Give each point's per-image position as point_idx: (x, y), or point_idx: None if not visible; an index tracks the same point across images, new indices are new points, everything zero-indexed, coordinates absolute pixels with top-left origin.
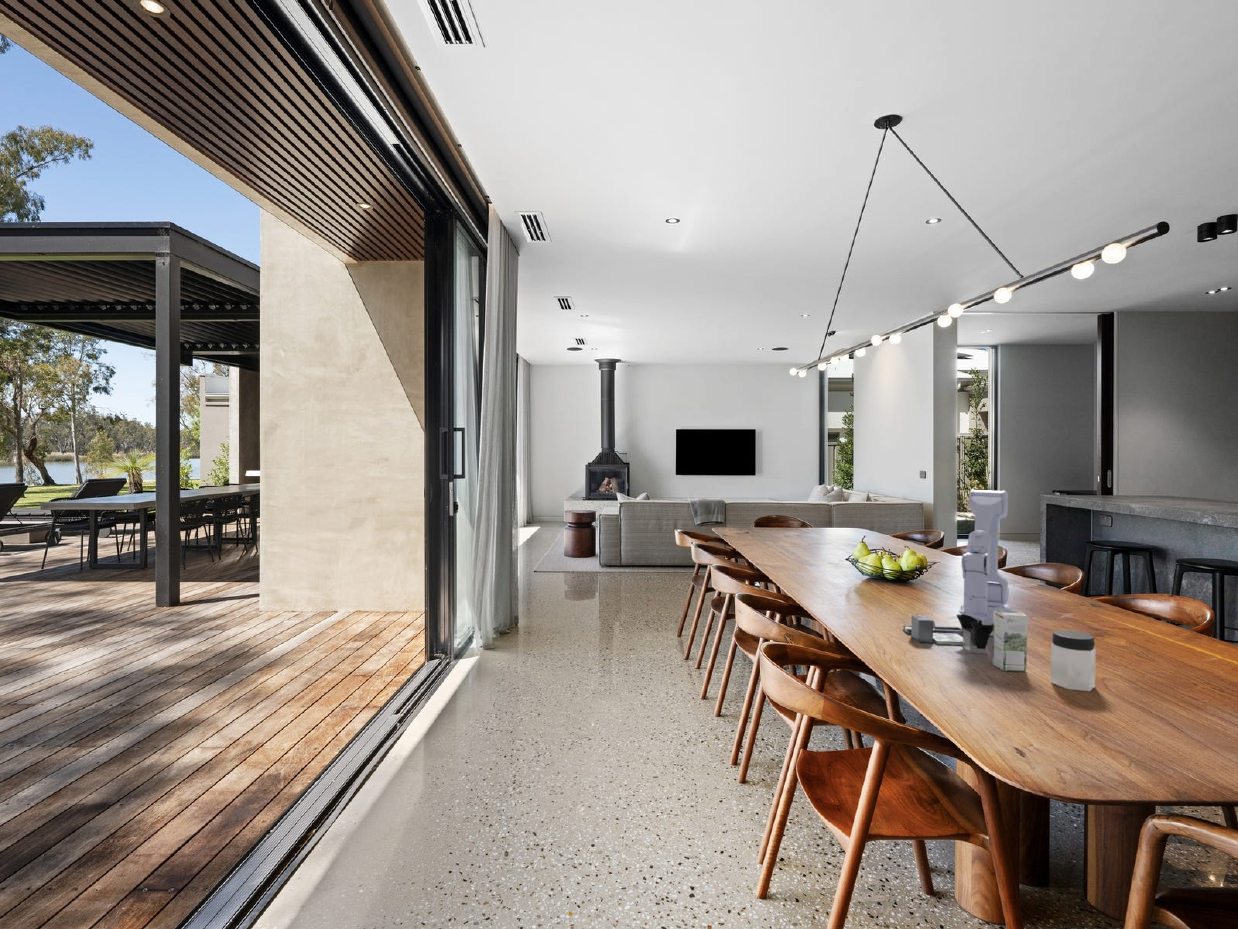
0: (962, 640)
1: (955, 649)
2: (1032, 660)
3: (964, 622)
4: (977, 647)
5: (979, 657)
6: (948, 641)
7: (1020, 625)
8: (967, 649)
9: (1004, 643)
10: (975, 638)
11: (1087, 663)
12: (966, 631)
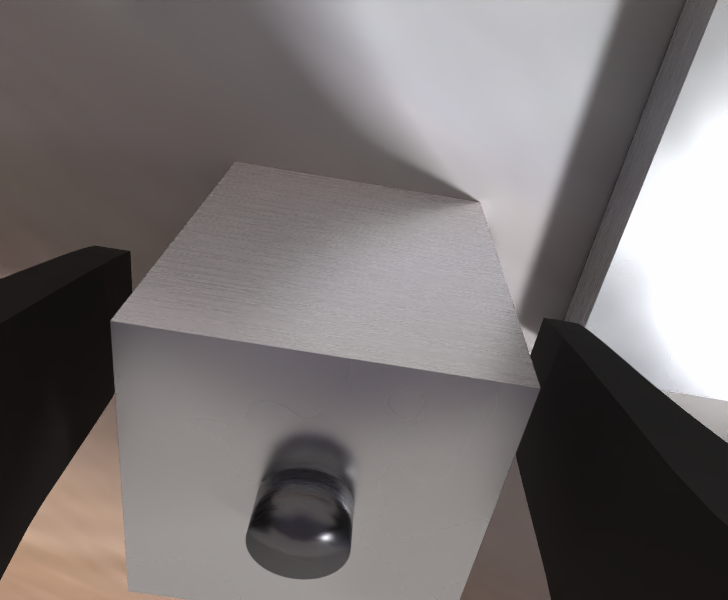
0: (671, 328)
1: (409, 21)
2: (36, 586)
3: (695, 584)
4: (82, 249)
5: (10, 162)
6: (697, 56)
7: None
8: (318, 183)
9: None
10: (15, 304)
11: None
12: (337, 344)
